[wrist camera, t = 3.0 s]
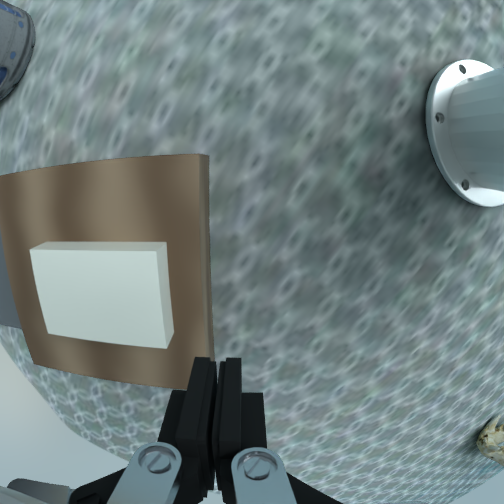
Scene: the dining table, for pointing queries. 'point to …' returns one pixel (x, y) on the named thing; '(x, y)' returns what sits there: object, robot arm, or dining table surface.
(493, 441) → the jawbone
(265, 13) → the dining table surface
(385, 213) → the dining table surface
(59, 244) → the pale grey flat tile
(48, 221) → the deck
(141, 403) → the dining table surface
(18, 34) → the beverage bottle
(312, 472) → the dining table surface
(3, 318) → the mat
